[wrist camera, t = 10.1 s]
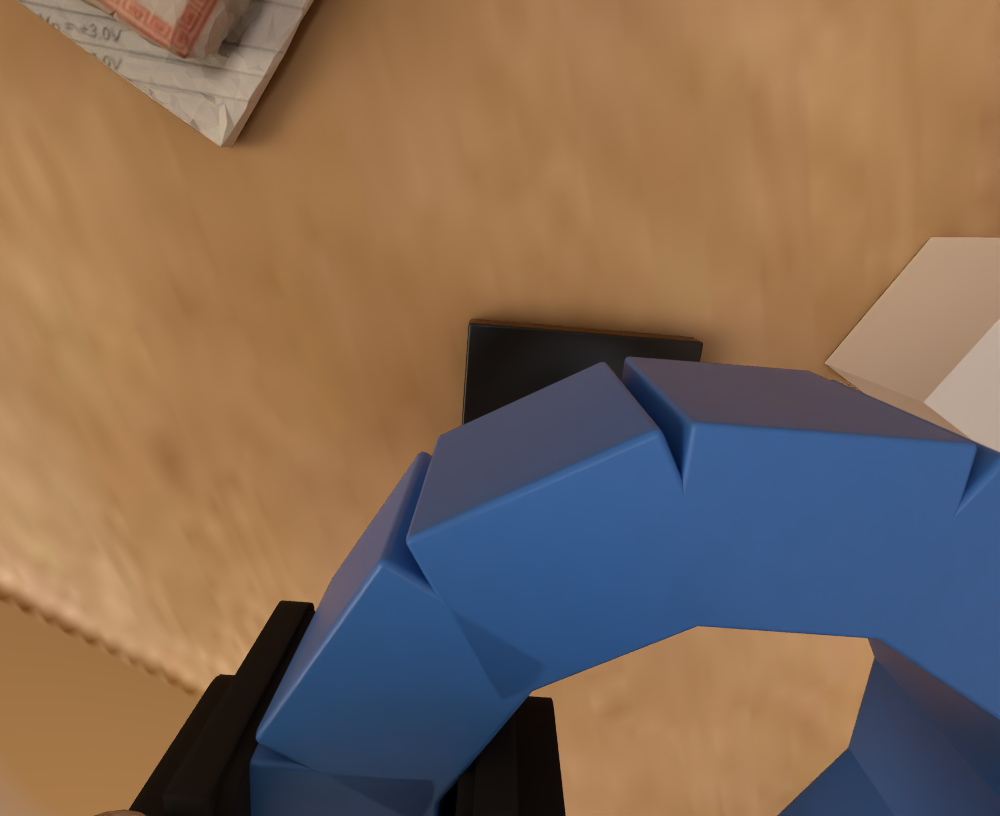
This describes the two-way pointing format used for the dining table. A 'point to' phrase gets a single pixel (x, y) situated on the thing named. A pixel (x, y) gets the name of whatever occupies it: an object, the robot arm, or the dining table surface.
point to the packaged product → (186, 51)
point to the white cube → (935, 339)
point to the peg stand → (549, 358)
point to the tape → (655, 584)
